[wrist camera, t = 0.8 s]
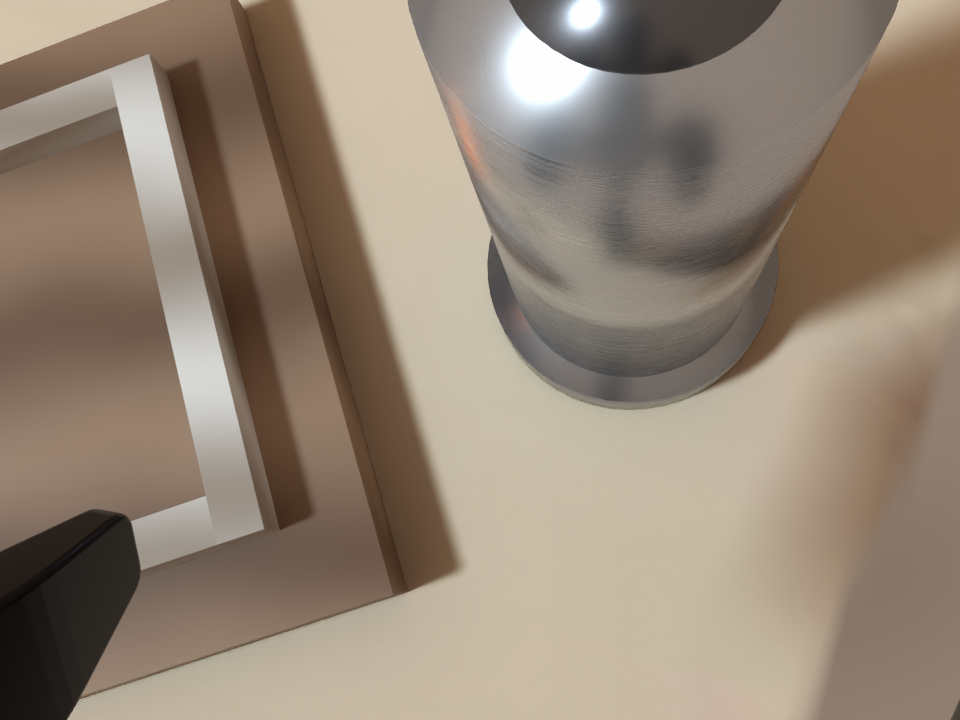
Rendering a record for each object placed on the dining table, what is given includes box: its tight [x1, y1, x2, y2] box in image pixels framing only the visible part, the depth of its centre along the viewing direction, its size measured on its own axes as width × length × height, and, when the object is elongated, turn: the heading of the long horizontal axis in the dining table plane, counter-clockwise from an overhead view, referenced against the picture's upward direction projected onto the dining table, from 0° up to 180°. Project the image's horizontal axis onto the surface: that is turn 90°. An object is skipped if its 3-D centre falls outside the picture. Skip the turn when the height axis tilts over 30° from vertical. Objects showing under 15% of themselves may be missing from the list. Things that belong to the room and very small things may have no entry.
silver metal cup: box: [408, 0, 898, 410], centre depth 17 cm, size 7×7×13 cm
